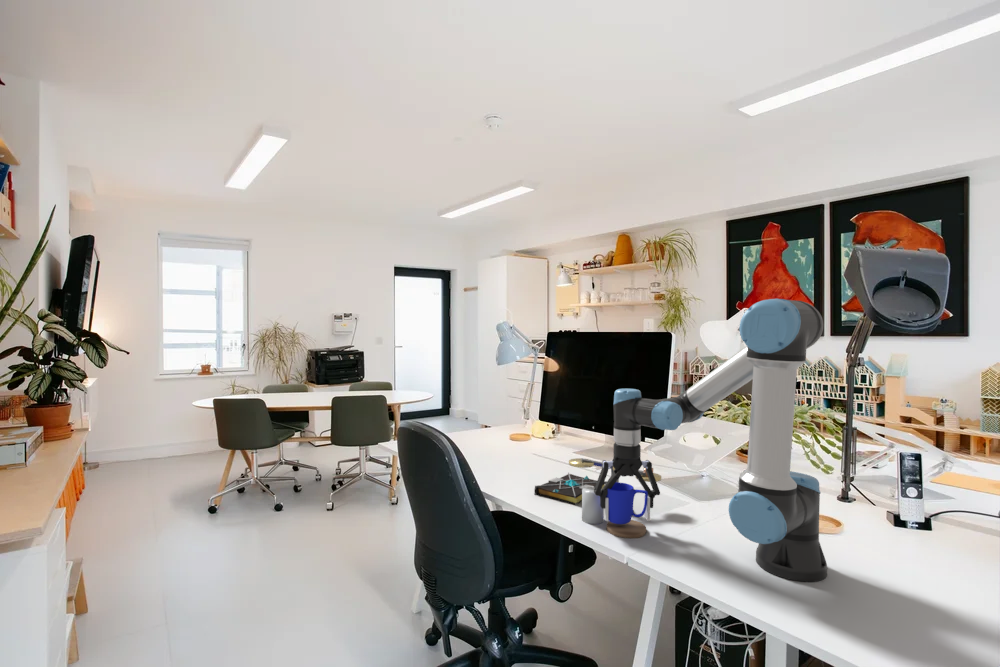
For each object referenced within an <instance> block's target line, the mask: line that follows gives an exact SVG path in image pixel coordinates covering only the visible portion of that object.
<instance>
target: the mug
mask: <svg viewBox="0 0 1000 667" xmlns="http://www.w3.org/2000/svg"><path fill="white" fill-rule="evenodd" d="M636 494H644V502H645V503H644V504H643V508H642V511H641V512H640V513H637V514H636V513H635V512H634V513H633V510H634V499H635V496H636ZM606 497H607V498H608V522H609V521H610V522H612V523H615V524H627V523H629V522H630V521H631V520H632V517H635V518H642V517H643V516H644V513H645V511H646V506H647V498H648V492H647V491H645V489H644V490H643V489H635V488H634V486H633V485H631V484H629V483H626V482H620V481H619V482H615V484H614V485H613V487H612V488H611V489H608V494H607V496H606Z"/></svg>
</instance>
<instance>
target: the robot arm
mask: <svg viewBox="0 0 1000 667" xmlns="http://www.w3.org/2000/svg"><path fill="white" fill-rule="evenodd" d="M823 330H824V319H823V317H822V315H821V313H820V311H819V310H818V309H817V308H816V307H815V306H813V304H811V303H808V302H805V301H803V300H792V299H784V298H769V299H768V298H767V299H763V300H760V301H757V302H755V303H753V304H752V305H751V306H750V307H749V308H747V309H746V311H744V313H743V314H742V317H741V319H740V322H739V335H740V338H741V340H742V341H743V343H744V344H745V346H744V347H743V348H742V349H740V350H739V351H737V352H736V353H734V354H733V355H732V356H731V357H730V358H728V359H727V360H725V361H724V362H722V363H721V364H720V365H718V366H717V367H715V369H713V370H712V371H711V372H709V373H708V374H706V375H705V376H704V377H702V378H701V379H700V380H698V381H697V382H695V383H694V384H693V385H692V386H690V387H688V388H687V389H686V390H685V391H682V393H681V394H679V395H678V396H674V397H669V398H668V397H667V398H662V399H661V398H660V399H652V398H645V397H642V392H641V390H639V389H636V388H618V389H616V390H615V391H614V395H613V421H614V422H613V442H614V443H613V459H612V460H611V461H610V460H609V461H607V460H605V459H603V460H602V461H601V462H602V467H601V470H600V473H599V474H598V478H597V479H596V480H597V483H596V486H595V488H594V493H595V494H596V495H597V496H600V506H601V508H602V509H604V518H603V520H604V521H605V522H609V520H608V498H607V497H606V496H607V494H608V489H611V488H612V487H613V485H614V484H615V482H616V481H617V479H619V480H620V477H634V476H636V477H635V479H636V478H637V479H636V480H637V481H638V482H639V483H640V485H641V487H642V488H643V489H644V490H645V491H647V492H648V498H647V506H646V511H645V513H644V515H643V516H644V518H645V520H646V521H647V522H650V521H651V509H653V508H654V498H656V496H659V495H661V491H660V488H659V486H658V483H657V482H656V480H655V477H654V474H653V473H654V471H653V472H652V468H653V463H652V461H650V460H648V459H646V460H642V459H641V456H642V455H641V450H642V449H641V448H642V447H641V440H642V436H641V429H642V428H641V426H644V427H649V428H653V429H659V430H661V431H676V430H677V429H678V428H679V427H680V426H681V425H682V424H686V423H687V424H688V423H693V422H695V421H698V420H700V419H701V418H702V417H703V416H704V414H705V412H706V411H708V410H709V409H711V408H712V407H713V406H715V405H716V404H718V403H719V402H721V401H723V400H724V399H726V397H728V396H730V395H732V394H733V393H734V392H736V391H738V390H739V389H740V388H742V387H744V385H747V384H748V383H749V382H751V381H752V386H751V401H750V403H751V404H750V416H749V418H750V419H749V431H748V432H749V433H748V435H749V436H748V447H747V448H748V449H747V466H746V469H745V470H744V471H741V473H739V477H738V489H737V490H738V491H737V492H736V493H735V494H734V495H733V496H732V498H731V499H730V501H729V504H728V515H729V519H730V521H731V523H732V525H733V527H735V528H736V530H737V531H738V533H739V534H741V535H742V536H743V537H744V538H746V539H747V540H749V542H753V543H755V544H758V546H757V547H756V551H755V561H756V564H757V565H758V567H760V568H761V569H763V570H764V571H766V572H768V573H770V574H772V575H775V576H777V577H780V578H783V579H788V580H791V581H798V582H819V581H822V580H824V579H825V578H827V576H828V564H827V560H826V558H825V554H824V552H823V548H822V546H821V543H820V503H821V502H820V498H821V496H820V495H821V490H820V482H819V480H818V479H817V478H816V477H815V476H813V475H809V474H806V473H801V472H797V471H792V470H791V460H792V449H793V448H792V445H793V434H794V433H793V432H794V418H795V416H794V415H795V404H796V403H795V402H796V388H797V387H796V385H797V372H798V369H799V367H801V366H803V365H805V363H806V361H807V359H806V358H807V349H809V348H810V347H812V346H813V345H815V344H816V343H817V342H818V341H819V339H820V338H821V337H822V334H823ZM611 466H613V467H614V468H615V470H614V471H613V473H612V475H611V474H610V476H609V479H608V480H606V478H607V476H608V472H609V470H611V469H610V467H611ZM641 467H643V469H644V468H645V469H646V472H647V475H648V478H649V480H650V482H649V483H650V485H651V488H652V489H651V488H650V487H649V484H648V483H647V482H646V481H644V479H643V478H642V476H641V474H640V473H639V471H638V470H641ZM605 480H606V481H607V483H606V484H605V486H604V487H603V488H602V486H603V484H604V481H605ZM601 489H602V490H601ZM644 503H645V501H644Z"/></svg>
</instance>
